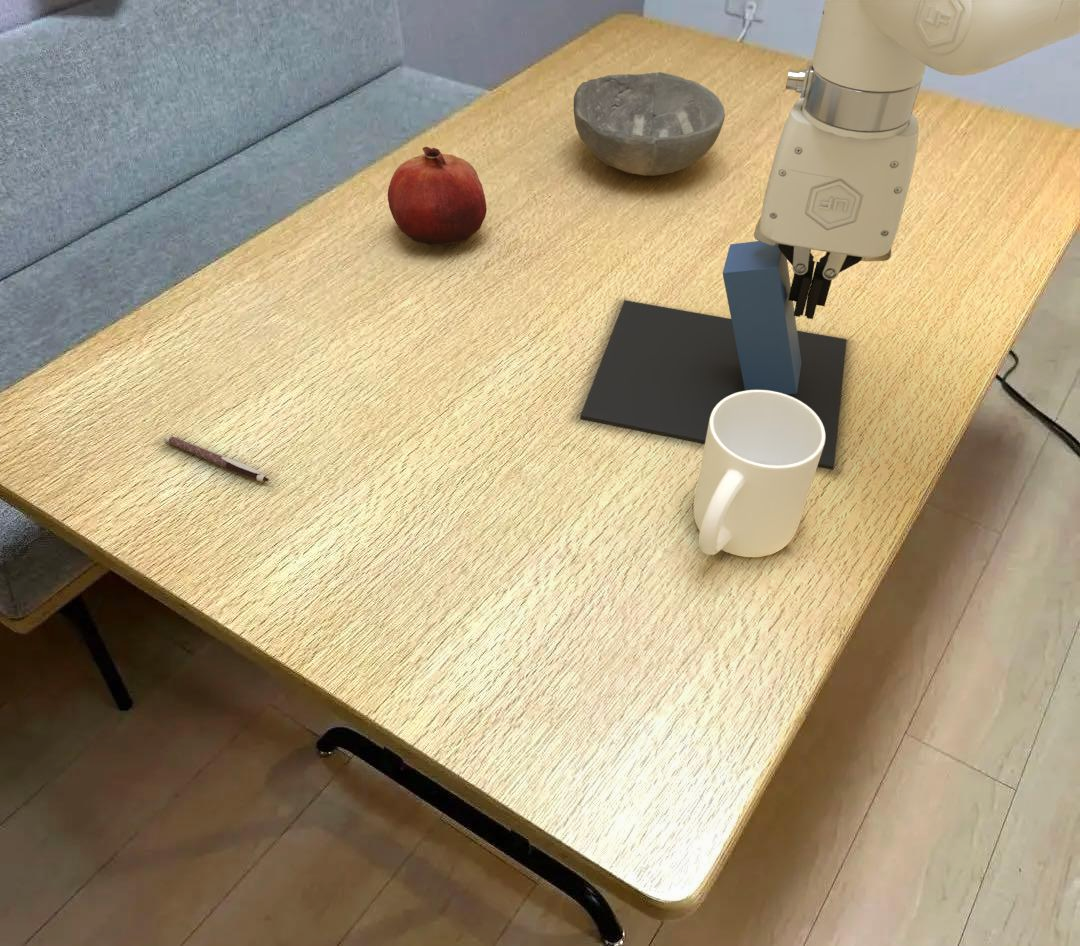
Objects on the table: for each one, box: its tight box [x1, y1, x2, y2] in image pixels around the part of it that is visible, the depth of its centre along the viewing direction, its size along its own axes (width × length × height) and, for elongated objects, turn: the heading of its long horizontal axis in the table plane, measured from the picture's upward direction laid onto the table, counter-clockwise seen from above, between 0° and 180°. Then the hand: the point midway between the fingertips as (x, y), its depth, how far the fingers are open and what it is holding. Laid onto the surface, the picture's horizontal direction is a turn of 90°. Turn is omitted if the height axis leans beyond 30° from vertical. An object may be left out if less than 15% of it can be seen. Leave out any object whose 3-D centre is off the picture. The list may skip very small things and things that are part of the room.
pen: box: [163, 435, 270, 482], centre depth 79 cm, size 11×1×1 cm, turn 63°
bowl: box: [573, 71, 726, 176], centre depth 113 cm, size 18×18×8 cm
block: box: [722, 240, 802, 394], centre depth 82 cm, size 4×4×13 cm
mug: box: [693, 390, 825, 558], centre depth 71 cm, size 12×8×10 cm
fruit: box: [387, 146, 488, 246], centre depth 100 cm, size 11×10×10 cm
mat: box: [579, 299, 848, 470], centre depth 87 cm, size 22×18×1 cm
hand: (804, 308), depth 80 cm, fingers closed
